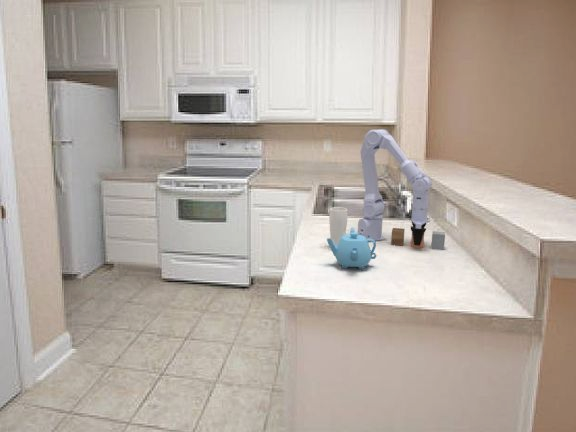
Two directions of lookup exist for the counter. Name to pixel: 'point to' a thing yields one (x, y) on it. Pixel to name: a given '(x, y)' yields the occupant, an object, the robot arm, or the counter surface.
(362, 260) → the teapot
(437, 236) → the slate block
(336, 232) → the drinking glass
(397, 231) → the walnut block
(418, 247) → the terracotta block
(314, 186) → the counter surface
